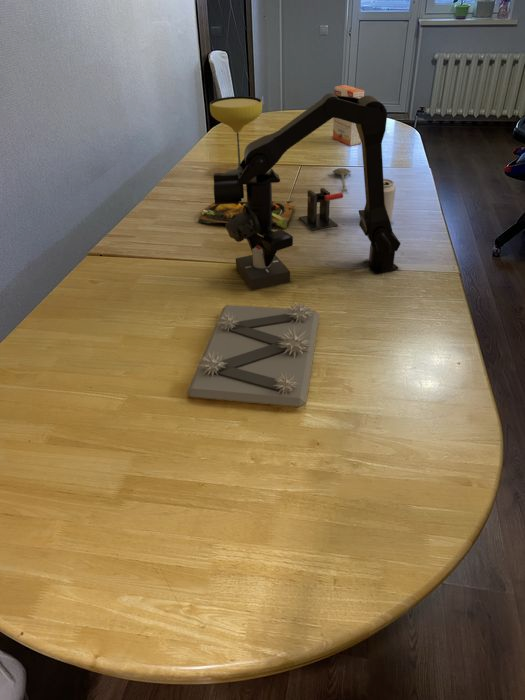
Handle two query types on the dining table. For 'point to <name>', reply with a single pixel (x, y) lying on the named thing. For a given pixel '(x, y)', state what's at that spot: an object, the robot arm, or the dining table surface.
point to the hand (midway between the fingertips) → (262, 262)
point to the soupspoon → (342, 172)
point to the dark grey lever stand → (314, 219)
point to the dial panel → (262, 273)
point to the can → (389, 196)
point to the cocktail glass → (236, 113)
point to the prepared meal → (226, 211)
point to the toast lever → (328, 197)
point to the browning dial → (258, 257)
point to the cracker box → (346, 129)
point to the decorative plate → (258, 356)
